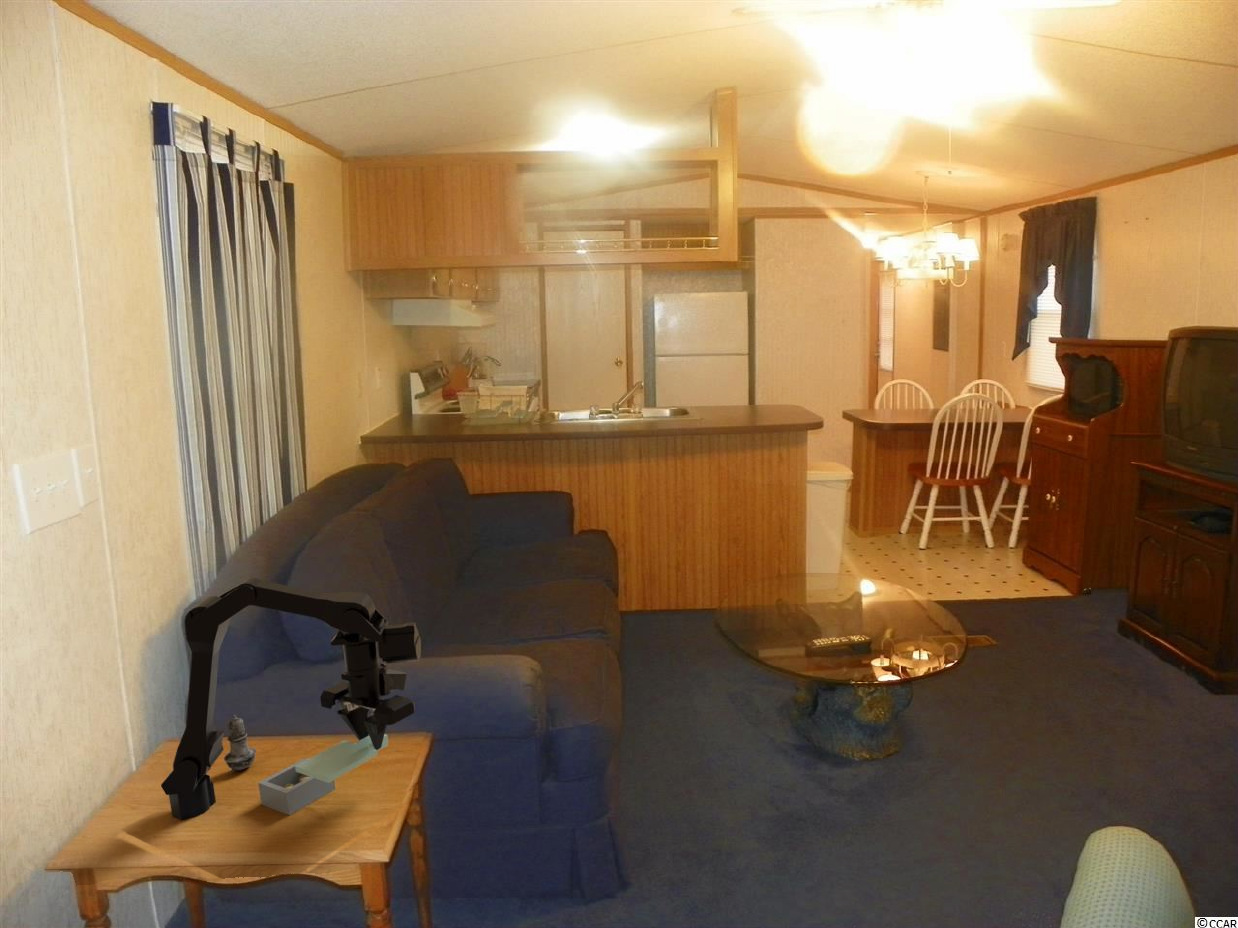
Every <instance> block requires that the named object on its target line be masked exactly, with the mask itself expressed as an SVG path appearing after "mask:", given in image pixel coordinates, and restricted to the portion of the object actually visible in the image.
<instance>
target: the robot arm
mask: <svg viewBox="0 0 1238 928" xmlns="http://www.w3.org/2000/svg"><path fill="white" fill-rule="evenodd" d="M249 606H253V607H257V608H262V609H268V610H273V611H277V612H282V613H287V614H293V615H298V616H302V617H308V618H313V619H316V620H319V621H322V622H323V623H324V624H326V625H327V626H329V627H330V628H333V629H335V630H338V631H337V632H336V634H335V635H334V637H333V638H332V639H331V641H330V642H329V645H330V646H332V647H335V646H342V648H343V657H344V666H345V672H342V673H340V676H341V680H343V681H340V682H339V683H336V684H335V685H332V686H330V687H328V688H326V689H324V690H323V691H322V693H321V695H320V697H319V698H320V699H319V700H320V704H321V705H320V707H322V708H326V709H329V710H331V709H334V707H335V706H336V701H337V703H338V704H339V710H337V711H336V714H337V715H338V716H339V717H341V719H342V720H343V721H344V723H346V725H347V726H348V727H349V728H350V730H351V731H352V734H354V736H355V737H356V739H357V740H358V741H360V740H362V739H363V738H365V737H367V736H370V739H371V741H372V744H373V746H374V748H375V749H376V750H378V749H380V748H381V746H382V742H383V738H384V734H386V730H387V727H388V726H391V725H395V724H396V723H398V722H400V721H402V720H404V719H407V718H408V717H409V716H411V715H413V714H415V712H416V711H415V709H416V708H415V702H414V700H413V699H411V698H409V697H406V696H402V695H398V694H395V695H393V696H392V697H389V698H384V699H383V696H385V697H386V696H388V695H390V694H391V691H398V690H400V691H402V692H403V691H405V690H406V684H407V678H408V672H404V671H401V670H397V669H392V668H391V669H390V668H387V666H386V664H397V663H398V664H399V663H408V662H409V663H410V662H420V660H421V654H422V650H421V649H422V641H421V636H420V635H419V630H418V628H417V623H416V622H415V621H412V622H410V621H409V622H406V623H401V624H390V625H389V620H388V619H387V618H386V617H385V616H384V615H383V614H382V613H381V612H380V611H379V610H378V609H377V608H376V606H375V602H374V600H373V599H372V598H371V596H370V595H369V594H367V593H365V592H361V591H360V592H358V591H357V592H354V591H341V592H340V591H339V592H331V593H327V592H326V593H324V592H320V591H314V590H310V589H306V588H305V589H304V588H301V587H294V586H290V585H284V584H281V583H275V582H271V581H270V582H269V581H265V580H261V579H259V578H257V577H249V578H246V579H245V580H243V581H242V582H241V583H240V584H238V585H236V586H234V587H233V588H231V589H229V590H227V591H226V592H224V593H223V594H221V595H219V596H217V595H216V596H215V595H214V596H212V595H211V596H208V597H205V598H204V599H203V600H201V601H200V602H199V603H198V604H197V605H195V606H194V607H193V608H191V609H190V610H189V611H188V612H187V614H186V615H185V616H184V621H183V622H184V625H183V626H184V633H185V641H186V642H187V645H188V648H189V650H190V652H191V653H190V654H191V656H190V666H189V667H190V669H189V682H188V692H187V704H186V705H187V706H186V708H187V709H186V719H185V727H184V731H183V734H182V737H181V739H180V742H179V744H178V746H177V748H176V752H175V756H174V760H173V763H172V771H171V772H170V774H169V775H167V776H166V778H165V779H164V781H163V782H162V783H161V784H160V786H161V789H162V791H163V792H164V794H165V795H166V796H168V799H169V804H170V812H171V816H172V818H174V819H176V820H179V821H185V820H187V819H192V818H197V817H199V816H201V815H203V814H205V813H206V812H208V811H209V810H210V808H211V807H212V806H213V805H215V804H216V803H217V799H216V793H215V786H214V782H213V781H212V780H211V776H210V775H209V774H207V773H208V772H209V771H210V770H211V768H212V766H213V765H214V764H215V763H216V760H217V759H218V758H219V757H220V756H221V754H222V753H223V752H224V749H225V748H224V746H223V738H224V736H225V730H217V729H216V726H215V724H214V723H215V722H214V717H215V707H216V706H215V705H216V697H217V696H216V694H217V682H218V669H219V660H220V659H219V658H220V650H221V645H222V643H223V641H224V638H225V636H226V634H227V632H228V628H229V625H230V622H231V618H232V617H234V616H235V615H236V614H238V613H239V612H241V611H243V610H244V609H245V608H247V607H249ZM377 644H378V645H377ZM379 657H380V659H381V660H382V662H385V663H386V664H385V663H381V662H380V661H379ZM370 710H371V712H370V716H368V715H369V711H370Z"/></svg>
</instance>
